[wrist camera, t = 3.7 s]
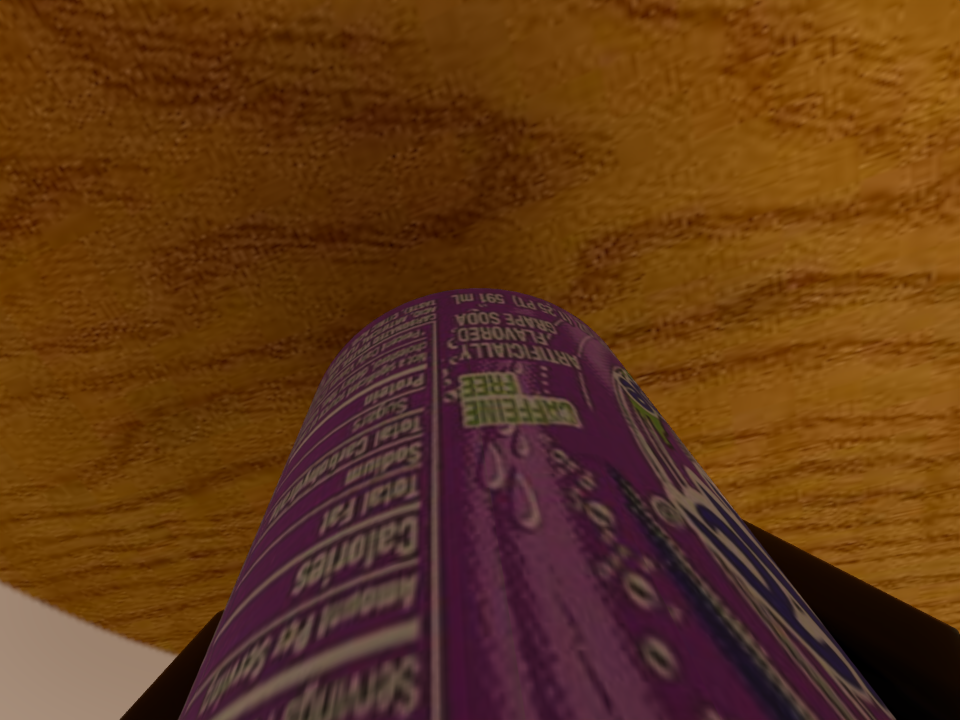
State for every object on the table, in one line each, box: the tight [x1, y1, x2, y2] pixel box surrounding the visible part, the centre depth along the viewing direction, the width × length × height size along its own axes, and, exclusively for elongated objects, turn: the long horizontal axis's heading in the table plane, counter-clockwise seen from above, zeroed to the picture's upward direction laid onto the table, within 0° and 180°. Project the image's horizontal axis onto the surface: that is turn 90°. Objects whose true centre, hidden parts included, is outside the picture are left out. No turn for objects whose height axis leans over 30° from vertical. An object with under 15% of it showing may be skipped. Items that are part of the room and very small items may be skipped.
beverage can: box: [178, 288, 896, 720], centre depth 8 cm, size 7×7×12 cm
